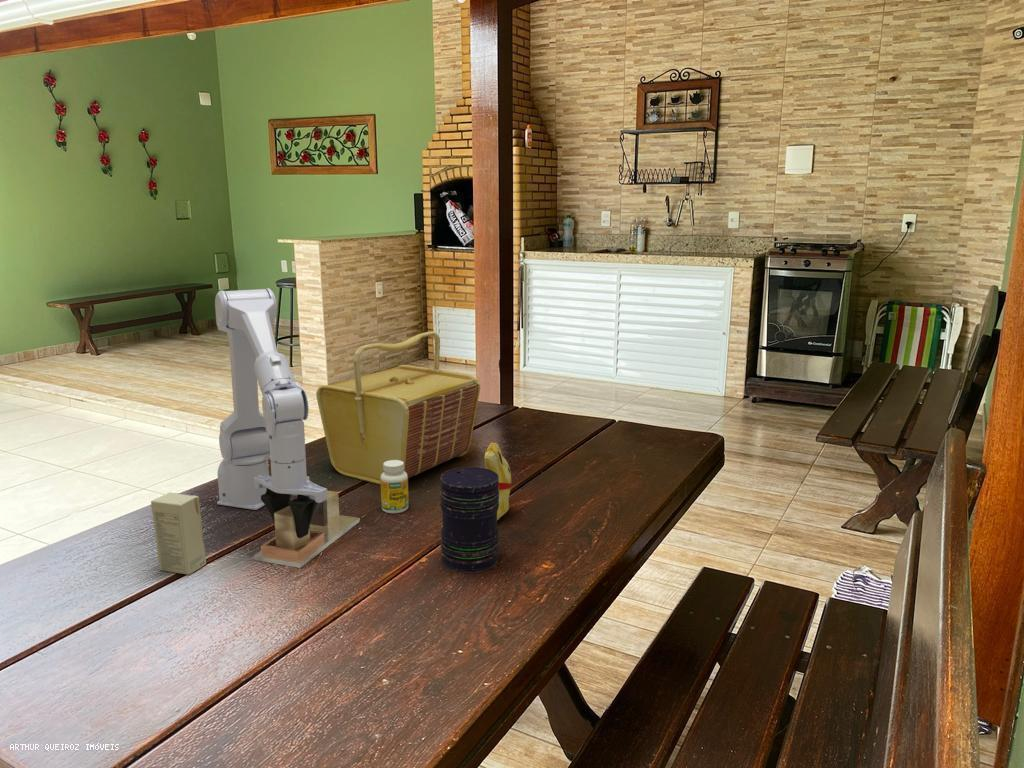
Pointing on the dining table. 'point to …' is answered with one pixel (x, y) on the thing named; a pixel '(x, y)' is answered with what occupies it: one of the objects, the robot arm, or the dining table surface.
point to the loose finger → (287, 530)
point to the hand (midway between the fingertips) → (292, 533)
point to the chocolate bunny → (502, 468)
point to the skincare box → (178, 533)
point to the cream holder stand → (311, 535)
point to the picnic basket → (398, 416)
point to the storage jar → (469, 519)
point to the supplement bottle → (394, 487)
